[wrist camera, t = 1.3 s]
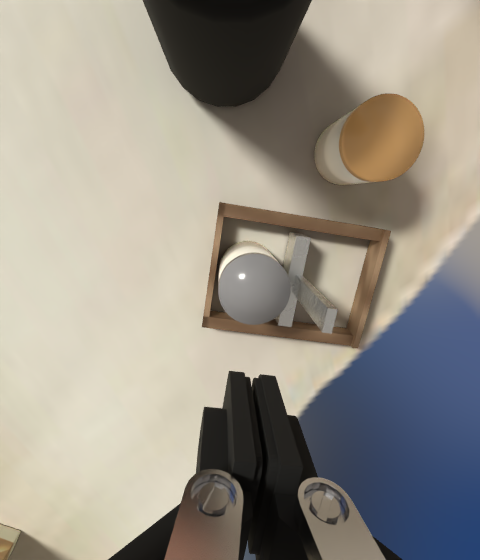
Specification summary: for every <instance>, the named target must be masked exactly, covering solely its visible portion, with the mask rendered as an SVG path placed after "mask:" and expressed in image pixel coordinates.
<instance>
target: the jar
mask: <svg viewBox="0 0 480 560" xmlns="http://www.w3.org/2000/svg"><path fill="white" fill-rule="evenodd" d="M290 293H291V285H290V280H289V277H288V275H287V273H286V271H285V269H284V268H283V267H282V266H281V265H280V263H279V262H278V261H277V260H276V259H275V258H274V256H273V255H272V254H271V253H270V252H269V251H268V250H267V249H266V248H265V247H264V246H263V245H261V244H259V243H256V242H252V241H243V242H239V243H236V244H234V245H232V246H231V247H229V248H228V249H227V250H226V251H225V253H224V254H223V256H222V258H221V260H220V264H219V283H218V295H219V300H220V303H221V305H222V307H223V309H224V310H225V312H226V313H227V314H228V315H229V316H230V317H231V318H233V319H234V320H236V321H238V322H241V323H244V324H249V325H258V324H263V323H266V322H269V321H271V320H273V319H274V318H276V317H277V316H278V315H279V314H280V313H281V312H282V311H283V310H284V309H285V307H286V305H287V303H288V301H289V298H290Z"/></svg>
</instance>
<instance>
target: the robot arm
mask: <svg viewBox="0 0 480 560" xmlns="http://www.w3.org/2000/svg"><path fill="white" fill-rule="evenodd" d="M247 540H248V548H249V553H250V554H255V555H256V560H402V559H401V558H399V557H398V556H397V555H396V554H395V553H393V552H392V551H391V550H390V549H388V548H387V547H386V546H384V545H383V544H382V543H381V542H379V541H378V540H377V539H376V538H374V537H373V536H372V535H371V533H370V532H369V530H368V528H367V526H366V525H365V523H364V521H363V519H362V518H361V516H360V514H359V512H358V511H357V509H356V507H355V506H354V504H353V502H352V500H351V499H350V498H349V496H348V495H347V494H346V492H345V491H344V490H343V489H341V488H340V487H339V486H338V485H336V484H335V483H333V482H331V481H329V480H326V479H323V478H318V476H317V473H316V470H315V467H314V464H313V462H312V459H311V456H310V453H309V450H308V447H307V445H306V441H305V439H304V436H303V433H302V430H301V427H300V424H299V421H298V419H297V417H296V416H291V415H287V413H286V409H285V406H284V403H283V399H282V396H281V393H280V390H279V386H278V383H277V380H276V377H275V376H270V375H261V374H260V375H259V378H254V379H253V383H252V387H251V381H250V377H245V373H243V372H235V371H229V374H228V379H227V385H226V391H225V397H224V403H223V409H221V408H211V407H204V410H203V417H202V423H201V430H200V438H199V446H198V456H197V467H196V474H195V475H194V476H193V477H192V478H191V479H190V480H189V481H188V483H187V485H186V487H185V491H184V494H183V497H182V501H181V503H180V504H179V505H178V506H176V507H175V508H174V509H173V510H171V511H170V512H169V513H167V514H166V515H165V516H164V517H162V518H161V519H160V520H158V521H157V522H156V523H155V524H153V525H152V526H151V527H149V528H148V529H147V530H146V531H144V532H143V533H142V534H140V535H139V536H138V537H137V538H135V539H134V540H133V541H131V542H130V543H129V544H128V545H126V546H125V547H124V548H122V549H121V550H120V551H119V552H117V553H116V554H115V555H113V556H112V557H111V558H110V559H108V560H243V558H244V554H245V549H246V545H247Z"/></svg>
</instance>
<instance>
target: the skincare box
mask: <svg viewBox="0 0 480 560" xmlns="http://www.w3.org/2000/svg"><path fill="white" fill-rule="evenodd" d="M20 533H21V531H20V530H17V529H13V528H10V527H7V526H4V525H1V524H0V560H8V558H9V556H10V554H11V553H12V551H13V549H14V547H15V544H16V542H17V540H18V537H19V535H20Z"/></svg>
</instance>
